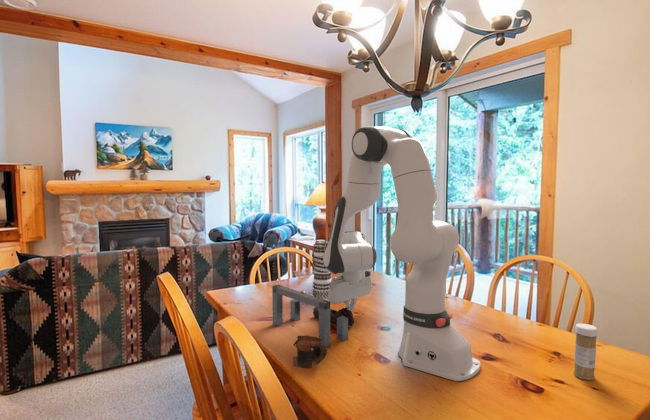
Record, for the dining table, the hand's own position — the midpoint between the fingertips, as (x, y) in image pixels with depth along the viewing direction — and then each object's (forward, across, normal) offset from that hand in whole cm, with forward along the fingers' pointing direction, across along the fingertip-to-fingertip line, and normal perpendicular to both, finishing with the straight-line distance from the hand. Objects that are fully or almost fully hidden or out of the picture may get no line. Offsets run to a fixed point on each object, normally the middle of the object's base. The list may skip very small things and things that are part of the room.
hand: (350, 310), depth 139 cm
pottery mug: (+3, -34, -16) cm, 38 cm away
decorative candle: (+3, +8, +24) cm, 26 cm away
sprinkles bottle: (+3, +13, -71) cm, 72 cm away
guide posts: (+3, -17, 0) cm, 17 cm away
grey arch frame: (+3, -25, 0) cm, 25 cm away
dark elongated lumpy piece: (+3, -7, +1) cm, 8 cm away
